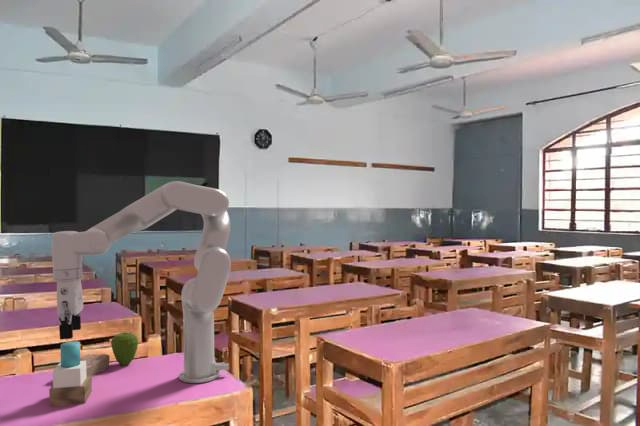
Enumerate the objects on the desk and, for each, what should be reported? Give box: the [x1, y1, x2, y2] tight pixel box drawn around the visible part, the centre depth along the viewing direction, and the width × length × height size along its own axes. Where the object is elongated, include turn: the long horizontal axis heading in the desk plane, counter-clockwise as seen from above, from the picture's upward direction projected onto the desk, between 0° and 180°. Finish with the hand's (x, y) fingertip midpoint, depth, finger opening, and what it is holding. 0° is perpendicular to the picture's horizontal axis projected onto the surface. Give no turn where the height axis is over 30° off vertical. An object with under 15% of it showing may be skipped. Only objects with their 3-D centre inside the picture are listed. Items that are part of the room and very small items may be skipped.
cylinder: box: [60, 341, 81, 368], centre depth 144 cm, size 5×5×6 cm
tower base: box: [48, 376, 93, 408], centre depth 144 cm, size 9×9×5 cm
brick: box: [80, 353, 111, 377], centre depth 165 cm, size 17×8×5 cm, turn 169°
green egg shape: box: [110, 331, 139, 366], centre depth 174 cm, size 9×8×12 cm
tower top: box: [52, 361, 86, 388], centre depth 144 cm, size 7×7×5 cm
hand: (70, 334), depth 144 cm, fingers open, 9 cm apart
